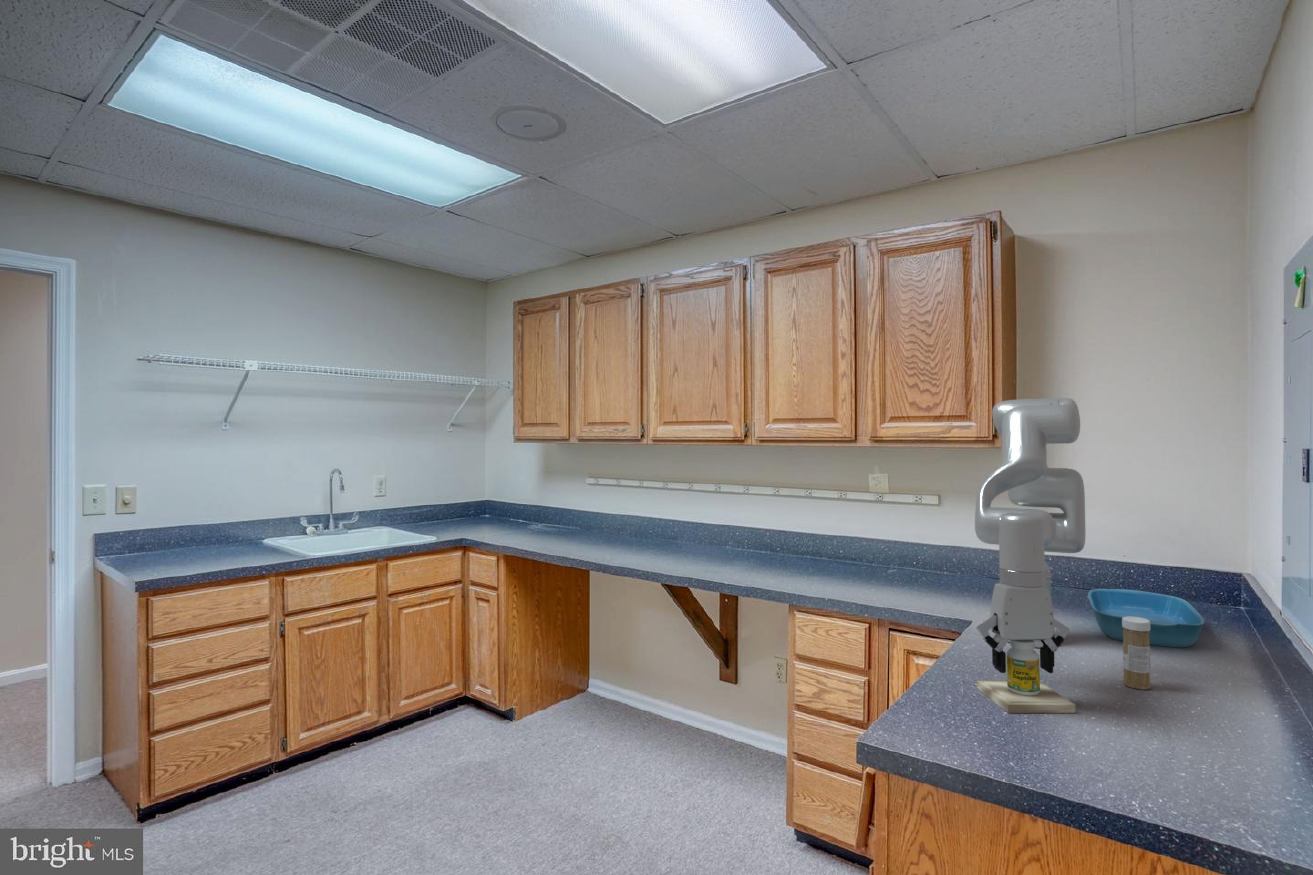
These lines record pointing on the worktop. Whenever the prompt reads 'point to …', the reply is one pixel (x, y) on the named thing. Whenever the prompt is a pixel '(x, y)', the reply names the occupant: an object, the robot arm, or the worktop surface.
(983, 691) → the cream square tray
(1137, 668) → the sprinkles bottle
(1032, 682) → the supplement bottle
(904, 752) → the worktop surface
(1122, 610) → the casserole dish
